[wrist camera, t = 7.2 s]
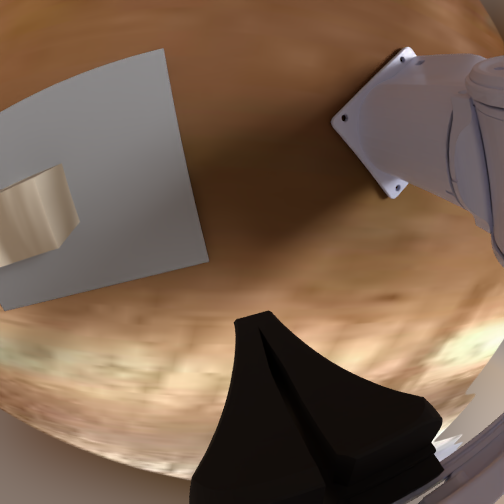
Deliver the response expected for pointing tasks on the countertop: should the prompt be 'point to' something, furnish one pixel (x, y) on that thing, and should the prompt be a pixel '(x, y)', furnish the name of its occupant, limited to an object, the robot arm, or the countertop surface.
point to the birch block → (35, 215)
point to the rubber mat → (104, 180)
